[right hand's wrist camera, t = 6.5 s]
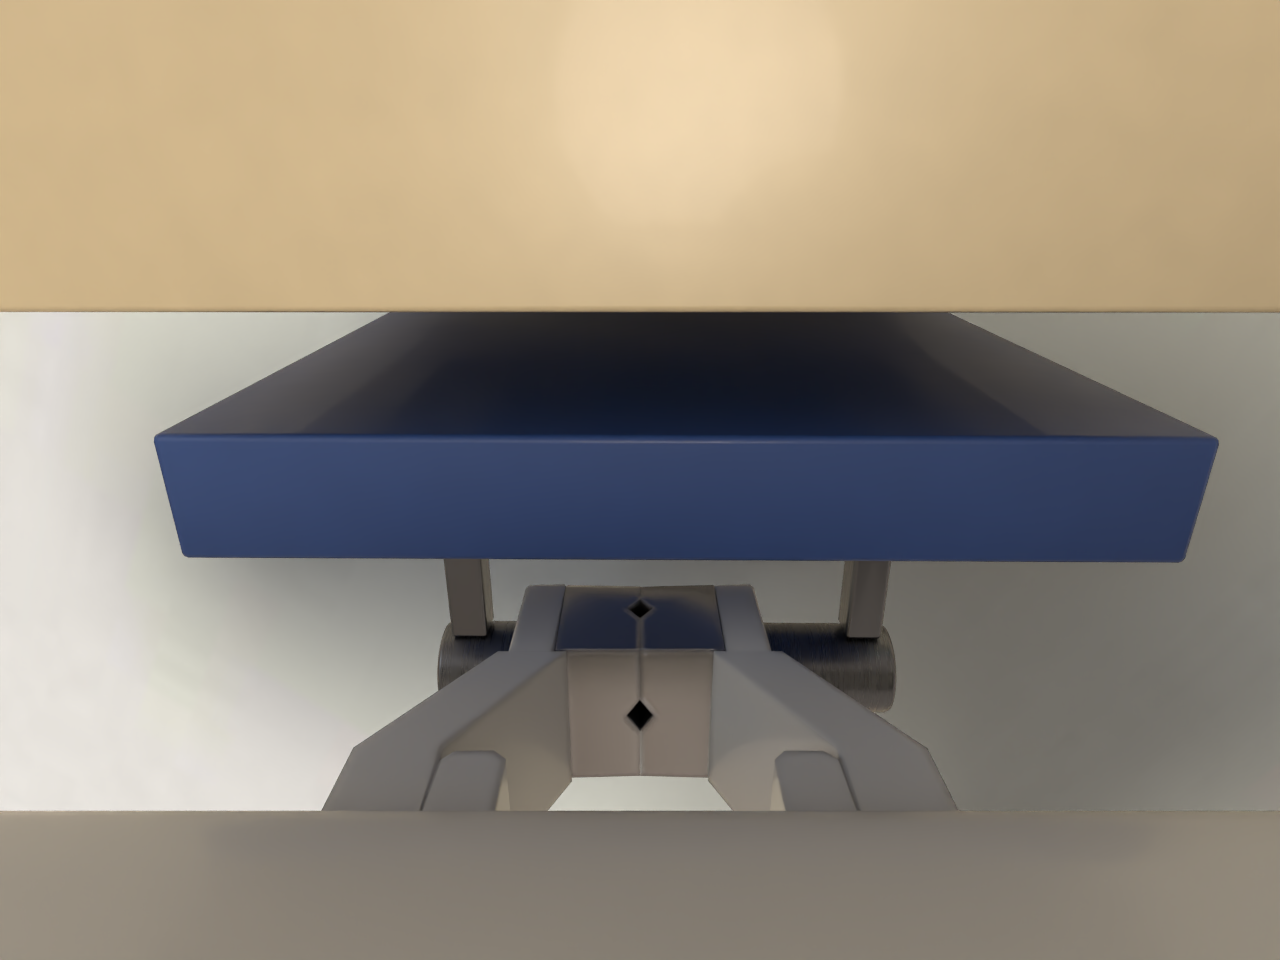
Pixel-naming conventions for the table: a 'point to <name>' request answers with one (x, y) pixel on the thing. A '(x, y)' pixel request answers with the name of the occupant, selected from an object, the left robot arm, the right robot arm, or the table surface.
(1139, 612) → the table surface
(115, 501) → the table surface
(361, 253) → the cabinet
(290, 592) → the table surface
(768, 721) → the right robot arm
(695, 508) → the drawer
